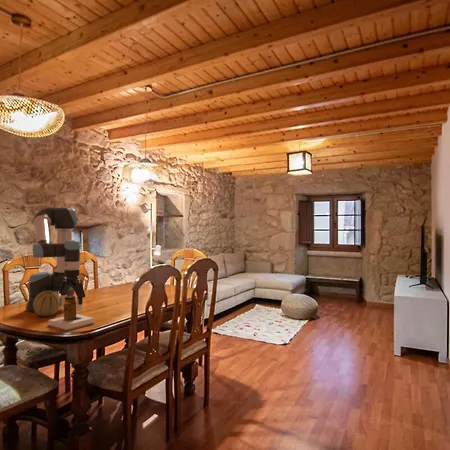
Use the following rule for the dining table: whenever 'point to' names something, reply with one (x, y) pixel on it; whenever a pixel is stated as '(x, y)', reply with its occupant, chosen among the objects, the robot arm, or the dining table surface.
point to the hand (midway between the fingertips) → (71, 309)
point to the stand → (71, 323)
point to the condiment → (70, 309)
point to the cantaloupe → (46, 303)
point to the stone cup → (69, 293)
